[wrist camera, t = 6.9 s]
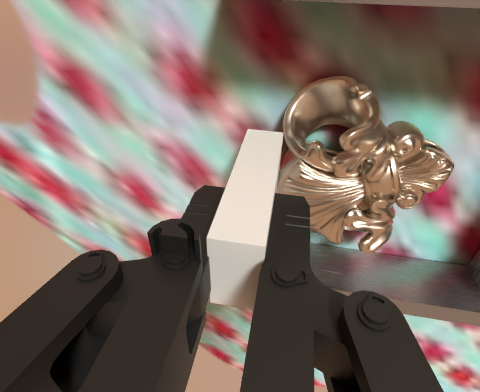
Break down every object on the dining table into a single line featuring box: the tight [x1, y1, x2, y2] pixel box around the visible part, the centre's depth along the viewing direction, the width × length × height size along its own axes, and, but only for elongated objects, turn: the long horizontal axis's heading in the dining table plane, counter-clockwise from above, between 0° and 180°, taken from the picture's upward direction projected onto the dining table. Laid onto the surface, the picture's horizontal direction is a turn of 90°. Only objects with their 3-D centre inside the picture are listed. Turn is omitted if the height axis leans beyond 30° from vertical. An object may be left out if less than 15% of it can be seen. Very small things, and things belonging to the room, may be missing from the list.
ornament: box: [277, 76, 454, 254], centre depth 13 cm, size 8×7×4 cm
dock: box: [284, 0, 480, 326], centre depth 13 cm, size 14×14×3 cm
